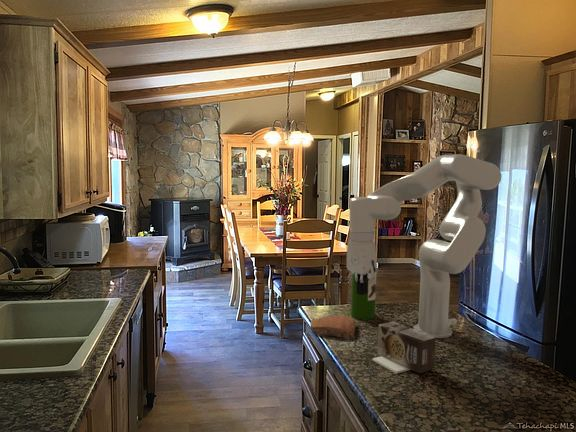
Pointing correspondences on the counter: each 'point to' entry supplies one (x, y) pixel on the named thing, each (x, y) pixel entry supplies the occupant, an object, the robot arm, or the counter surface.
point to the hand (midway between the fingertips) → (362, 293)
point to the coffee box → (406, 346)
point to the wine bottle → (363, 300)
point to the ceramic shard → (334, 326)
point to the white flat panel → (390, 364)
